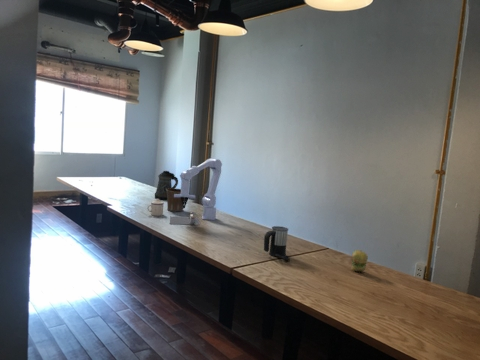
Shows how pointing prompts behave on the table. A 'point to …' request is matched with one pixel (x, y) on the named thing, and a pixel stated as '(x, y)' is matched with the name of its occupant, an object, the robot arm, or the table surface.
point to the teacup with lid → (156, 208)
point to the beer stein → (165, 185)
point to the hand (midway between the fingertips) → (183, 207)
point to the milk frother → (277, 242)
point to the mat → (183, 220)
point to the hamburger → (359, 260)
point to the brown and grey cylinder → (192, 220)
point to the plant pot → (174, 200)
